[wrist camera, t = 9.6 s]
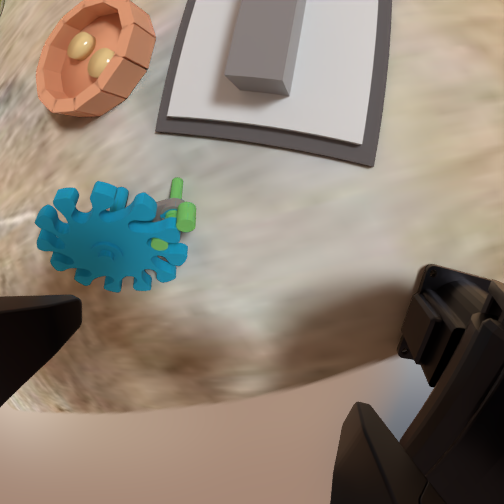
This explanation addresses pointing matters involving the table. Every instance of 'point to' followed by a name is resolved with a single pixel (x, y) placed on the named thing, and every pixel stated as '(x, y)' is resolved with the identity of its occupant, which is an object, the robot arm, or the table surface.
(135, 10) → the dish
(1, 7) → the blowtorch
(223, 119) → the lid
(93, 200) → the gear
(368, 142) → the mat
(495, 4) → the table surface
